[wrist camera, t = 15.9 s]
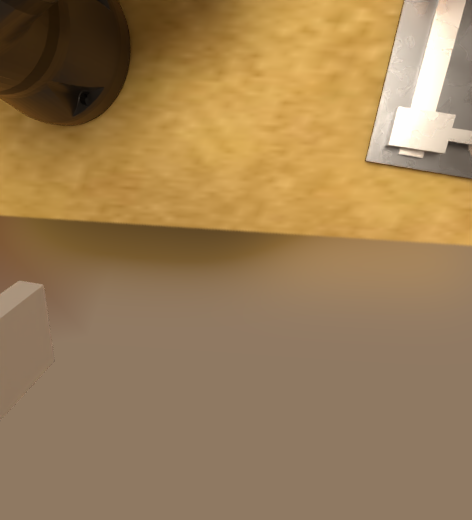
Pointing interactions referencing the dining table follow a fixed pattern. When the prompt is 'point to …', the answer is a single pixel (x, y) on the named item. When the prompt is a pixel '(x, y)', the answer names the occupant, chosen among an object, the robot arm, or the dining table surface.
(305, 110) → the dining table surface
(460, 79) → the plate
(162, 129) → the dining table surface
